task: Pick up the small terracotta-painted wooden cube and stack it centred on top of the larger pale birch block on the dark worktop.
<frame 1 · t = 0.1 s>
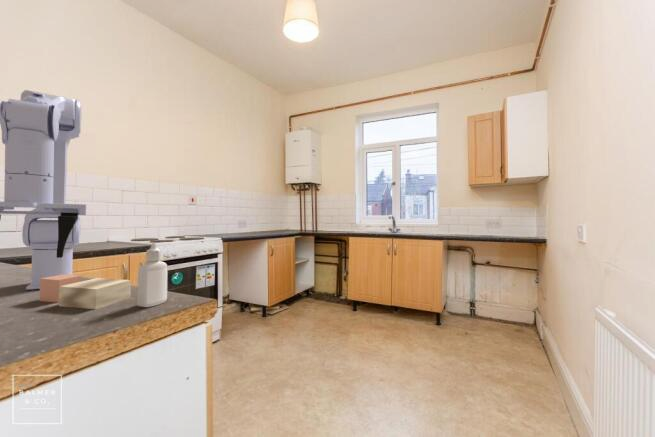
hand: (28, 258, 50), 10 cm above the counter, tool pointing down, fingers open, 7 cm apart
birch block: (96, 303, 60), on the counter
terracotta cube: (60, 299, 62), on the counter
eye dropper bottle: (152, 304, 60), on the counter
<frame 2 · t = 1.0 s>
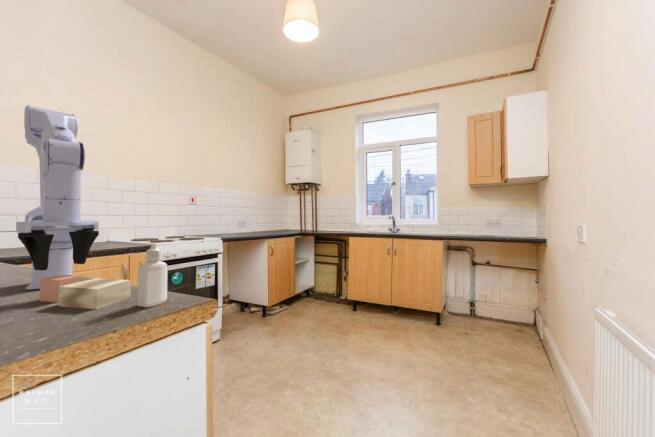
hand: (61, 266, 61), 6 cm above the counter, tool pointing down, fingers open, 7 cm apart
nothing on the counter moved.
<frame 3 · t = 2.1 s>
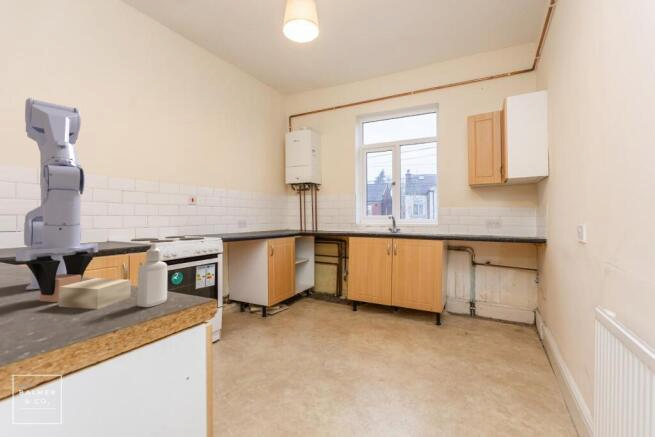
hand: (60, 291, 62), 1 cm above the counter, tool pointing down, fingers closed on terracotta cube, 4 cm apart
terracotta cube: (60, 298, 62), on the counter, touching gripper
everything else where it was.
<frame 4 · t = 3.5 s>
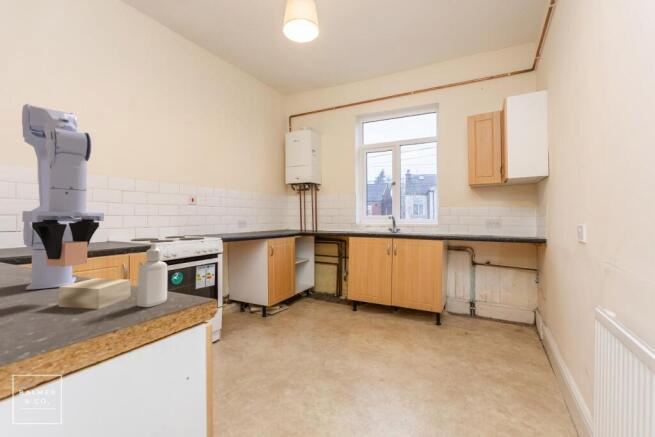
hand: (67, 257, 61), 8 cm above the counter, tool pointing down, fingers closed on terracotta cube, 4 cm apart
terracotta cube: (67, 264, 61), point 7 cm above the counter, touching gripper
everything else where it was.
when the fingers open (6 cm above the counter, at t = 4.8 s): terracotta cube drops 1 cm, resting on birch block.
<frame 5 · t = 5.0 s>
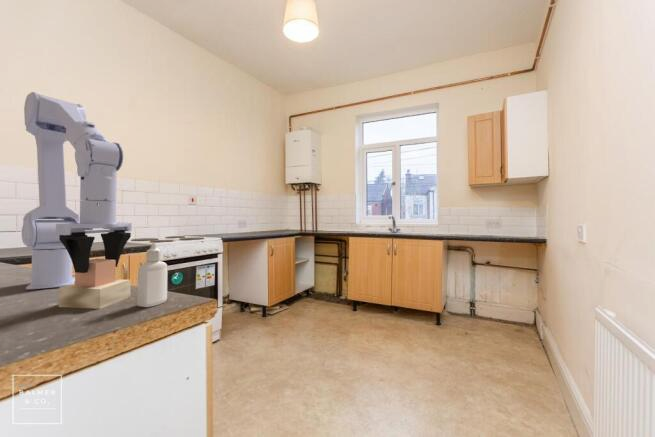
hand: (97, 269, 60), 6 cm above the counter, tool pointing down, fingers open, 6 cm apart
birch block: (96, 303, 60), on the counter, touching terracotta cube
terracotta cube: (95, 283, 60), point 4 cm above the counter, touching birch block
everything else where it was.
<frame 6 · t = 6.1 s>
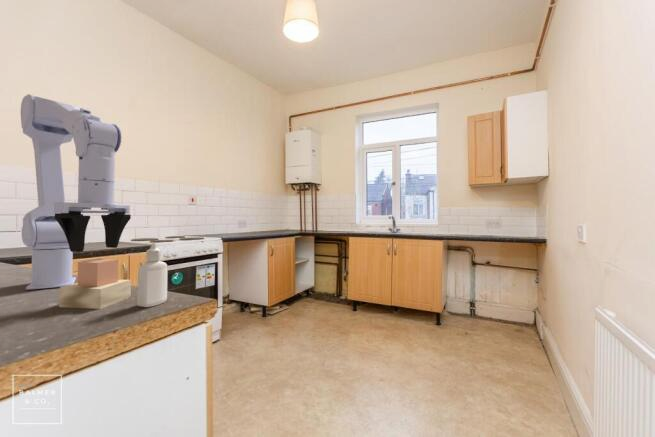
hand: (95, 249, 61), 10 cm above the counter, tool pointing down, fingers open, 7 cm apart
birch block: (97, 303, 60), on the counter
terracotta cube: (98, 283, 60), point 4 cm above the counter
everything else where it was.
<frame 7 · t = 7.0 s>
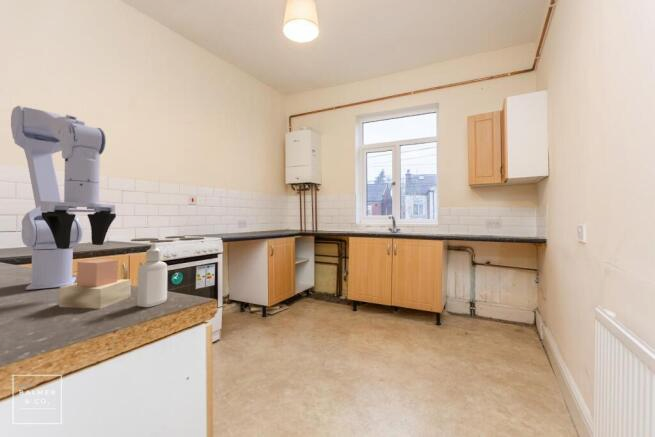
hand: (81, 246, 64), 10 cm above the counter, tool pointing down, fingers open, 7 cm apart
birch block: (97, 303, 60), on the counter, touching terracotta cube
terracotta cube: (97, 283, 60), point 4 cm above the counter, touching birch block
everything else where it was.
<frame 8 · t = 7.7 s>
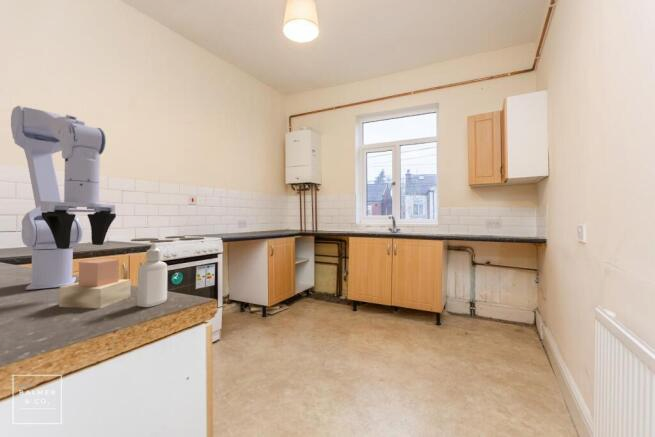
hand: (81, 246, 64), 10 cm above the counter, tool pointing down, fingers open, 7 cm apart
nothing on the counter moved.
at the end: terracotta cube 0.3 cm from the birch block (horizontally); terracotta cube point 3.6 cm above the counter; terracotta cube tilted 1° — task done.
